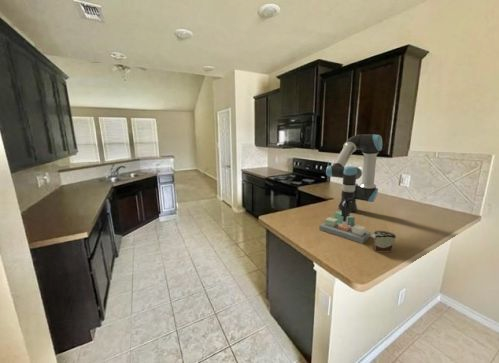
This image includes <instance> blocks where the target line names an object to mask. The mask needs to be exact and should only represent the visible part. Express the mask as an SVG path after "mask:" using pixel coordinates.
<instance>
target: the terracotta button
mask: <svg viewBox="0 0 499 363" xmlns="http://www.w3.org/2000/svg"><path fill="white" fill-rule="evenodd" d="M338 229H340V230H343V231H346V232H348V231H349V230H351V226H350V225H347V226H343V225H342V224H340V225H339V226H338Z"/></svg>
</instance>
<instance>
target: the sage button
mask: <svg viewBox="0 0 499 363" xmlns="http://www.w3.org/2000/svg"><path fill="white" fill-rule="evenodd" d="M324 223H325V225H327V226H331V227H335V226H336V225H337V223H338V219H335V218H334V217H330V216H329V217H327V218H325V220H324Z"/></svg>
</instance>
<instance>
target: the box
mask: <svg viewBox="0 0 499 363" xmlns="http://www.w3.org/2000/svg"><path fill="white" fill-rule="evenodd" d="M341 215H342V210H339V211H338V210H337V211H334V217H333V218H335V219H338V223H341V224H342V221H343V216H341ZM349 215H350V216H348V222H347V225H350V226H351V227H353V226H355V217H354V216H353V215H351V214H349Z"/></svg>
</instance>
